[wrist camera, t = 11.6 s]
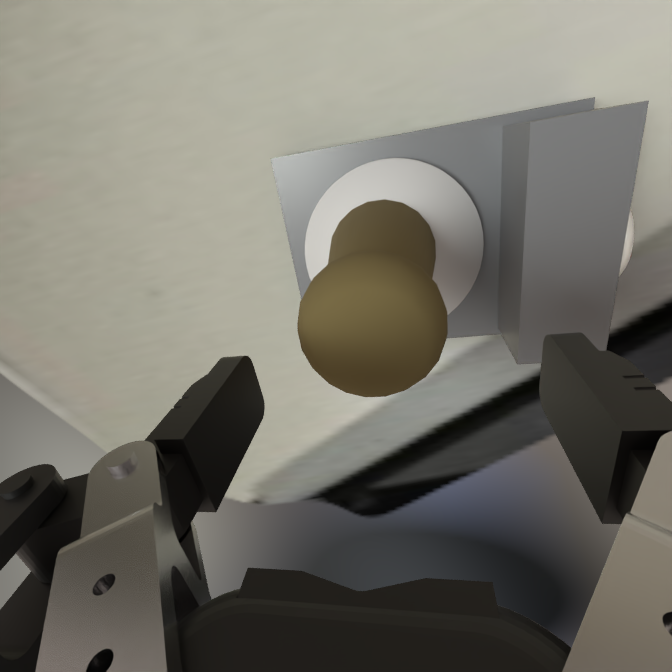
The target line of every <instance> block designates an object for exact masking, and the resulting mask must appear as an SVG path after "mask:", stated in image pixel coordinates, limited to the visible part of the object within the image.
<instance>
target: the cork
mask: <svg viewBox="0 0 672 672" xmlns="http://www.w3.org/2000/svg"><path fill="white" fill-rule="evenodd" d="M435 260H436V246H435V239H434V236H433V233H432V231H431V228H430V226H429V224H428V223H427V222H426V220H425V219H424V218H423V217H422V216H421V215H420V213H419V212H418V211H416V210H414V209H413V208H411V207H409V206H408V205H406V204H404V203H402V202H397V201H392V200H386V199H383V200H376V201H369V202H366V203H364V204H362V205H360V206H358V207H356V208H354V209H352V210H351V211H350V212H349V213H348V214H347V215H346V216H345V217H344V218H343V219H342V220H341V221H340V222H339V224H338V226H337V228H336V230H335V232H334V234H333V235H332V239H331V246H330V252H329V259H328V265H327V266H326V267H325V268H324V269H322V270H321V271H320V272H319V273H318V274H317V275H316V276H315V277H314V278H313V280H312V281H311V283H310V284H309V286H308V288H307V290H306V292H305V294H304V296H303V298H302V300H301V302H300V308H299V316H298V334H299V339H300V343H301V348H302V351H303V353H304V354H305V356H306V358H307V359H308V361H309V363H310V365H311V366H312V368H313V369H314V370H315V371H316V372H317V373H318V374H319V375H321V376H322V377H323V378H324V379H325V380H326V381H327V382H328V383H329V384H331V385H333V386H335V387H337V388H338V389H340V390H342V391H344V392H346V393H350V394H355V395H359V396H363V397H381V396H388V395H391V394H395V393H398V392H401V391H404V390H406V389H408V388H410V387H411V386H413V385H414V384H416V383H417V382H419V381H420V380H422V379H423V378H425V377H426V376H427V375H428V373H429V372H430V371H431V370H432V368H433V367H434V366H435V365H436V363H437V362H438V361H439V358H440V355H441V353H442V350H443V347H444V344H445V341H446V338H447V335H448V321H447V309H446V306H445V303H444V301H443V298H442V296H441V293H440V291H439V288H438V286H437V284H436V283H435V282H434V280H433V279H432V278H433V272H434V266H435Z"/></svg>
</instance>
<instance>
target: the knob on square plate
mask: <svg viewBox="0 0 672 672" xmlns="http://www.w3.org/2000/svg"><path fill="white" fill-rule="evenodd" d="M648 102H649V101H644V102H637V103H631V104H625V105H619V106H613V107H607V108H601V109H595V110H594V103H595V97H594V98H589V99H583V100H578V101H573V102H567V103H562V104H557V105H552V106H546V107H541V108H536V109H530V110H525V111H520V112H514V113H509V114H504V115H499V116H493V117H488V118H483V119H477V120H472V121H467V122H462V123H456V124H451V125H446V126H440V127H435V128H430V129H425V130H419V131H414V132H409V133H403V134H398V135H393V136H388V137H382V138H377V139H372V140H366V141H361V142H356V143H350V144H345V145H340V146H335V147H329V148H324V149H319V150H313V151H308V152H303V153H298V154H292V155H287V156H282V157H276V158H271V163H272V167H273V172H274V176H275V181H276V186H277V190H278V195H279V199H280V204H281V208H282V213H283V217H284V222H285V227H286V231H287V236H288V240H289V245H290V249H291V254H292V258H293V263H294V268H295V272H296V277H297V281H298V286H299V290H300V295H301V299H302V298H303V296H304V294H305V292H306V290H307V288H308V286H309V284H310V283H311V281H312V280H313V278H314V277H315V276H316V275H317V274H318V273H319V272H320V271H321V270H322V269H324V268H325V267H326V266H327V265H328V259H329V252H330V246H331V239H332V235H333V234H334V232H335V230H336V228H337V226H338V224H339V222H340V221H341V220H342V219H343V218H344V217H345V216H346V215H347V214H348V213H349V212H350V211H351V210H352V209H354V208H356V207H358V206H360V205H362V204H364V203H366V202H369V201H376V200H383V199H386V200H392V201H397V202H402V203H404V204H406V205H408V206H409V207H411V208H413V209H414V210H416V211H418V212H419V213H420V215H421V216H422V217H423V218H424V219H425V220H426V222H427V223H428V224H429V226H430V228H431V231H432V233H433V236H434V239H435V246H436V260H435V266H434V272H433V278H432V279H433V280H434V282H435V283H436V284H437V286H438V288H439V291H440V293H441V296H442V298H443V301H444V303H445V306H446V309H447V321H448V335H447V338H457V337H470V336H483V335H496V334H501V335H502V336H503V338H504V340H505V342H506V344H507V346H508V348H509V350H510V351H511V353H512V355H513V357H514V359H515V361H516V363H517V364H532V363H541V362H542V350H543V341H544V338H545V336H546V335H549V334H563V333H577V332H581V333H583V334H584V335H585V336H586V337H587V338H588V339H589V340H590V341H591V343H592V344H593V345H594V346H595V347H596V348H597V349H598V350H599V351H606V348H607V342H608V336H609V331H610V325H611V319H612V313H613V307H614V301H615V295H616V290H617V284H618V278H619V276H620V275H621V274H622V273H623V271H624V270H625V268H626V266H627V264H628V262H629V259H630V257H631V253H632V248H633V242H634V221H633V215H632V211H631V208H630V207H631V202H632V196H633V190H634V184H635V178H636V172H637V166H638V161H639V155H640V149H641V143H642V137H643V131H644V125H645V120H646V114H647V108H648Z"/></svg>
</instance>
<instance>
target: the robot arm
mask: <svg viewBox="0 0 672 672" xmlns="http://www.w3.org/2000/svg"><path fill="white" fill-rule="evenodd" d="M539 392H540V400H541V404H542V408H543V410H544V412H545V414H546V416H547V418H548V420H549V422H550V424H551V426H552V428H553V430H554V432H555V434H556V436H557V437H558V439H559V441H560V443H561V445H562V447H563V449H564V451H565V453H566V455H567V457H568V458H569V461H570V463H571V464H572V466H573V468H574V470H575V472H576V474H577V476H578V478H579V480H580V482H581V483H582V486H583V488H584V490H585V491H586V493H587V495H588V497H589V499H590V501H591V503H592V505H593V507H594V509H595V510H596V513H597V515H598V516H599V519H600V521H601V522H602V524H603V523H604V524H621V527H620V529H619V532H618V534H617V537H616V539H615V542H614V544H613V547H612V549H611V552H610V554H609V557H608V559H607V562H606V564H605V566H604V569H603V571H602V574H601V577H600V579H599V582H598V584H597V586H596V589H595V592H594V594H593V596H592V599H591V601H590V604H589V606H588V609H587V611H586V614H585V616H584V619H583V622H582V624H581V626H580V629H579V631H578V634H577V636H576V639H575V641H574V644H573V646H572V648H571V647H570V646H568V645H567V644H566V643H565V642H564V641H562V640H561V639H559V638H558V637H557V636H555V635H554V634H553V633H551V632H550V631H549V630H547V629H546V628H544V627H542V626H541V625H539V624H537V623H536V622H534V621H532V620H531V619H529V618H527V617H525V616H523V615H521V614H518V613H516V612H514V611H512V610H510V609H507V608H504V607H501V606H498V605H497V603H496V597H495V593H494V588H493V583H492V582H481V581H464V580H446V579H445V580H444V579H429V578H425V579H420V580H415V581H410V582H406V583H401V584H397V585H392V586H387V587H383V588H378V589H373V590H368V591H356V590H352V589H350V588H347V587H344V586H341V585H339V584H336V583H333V582H331V581H328V580H325V579H322V578H320V577H317V576H314V575H311V574H309V573H306V572H303V571H294V570H277V569H260V568H248V569H247V572H246V575H245V577H244V580H243V583H242V586H241V588H240V589H237V590H234V591H231V592H228V593H225V594H223V595H221V596H218V597H216V598H214V599H211V596H210V592H209V588H208V583H207V579H206V574H205V569H204V564H203V560H202V555H201V550H200V545H199V541H198V536H197V531H196V528H195V525H194V524H193V521H192V520H193V518H194V516H195V514H196V513H197V512H216V511H217V509H218V507H219V505H220V503H221V501H222V499H223V497H224V495H225V493H226V491H227V489H228V487H229V485H230V483H231V481H232V479H233V477H234V475H235V473H236V471H237V469H238V467H239V465H240V463H241V461H242V459H243V457H244V455H245V453H246V451H247V449H248V447H249V445H250V443H251V441H252V439H253V437H254V435H255V433H256V431H257V429H258V427H259V425H260V423H261V421H262V419H263V416H264V399H263V395H262V392H261V389H260V386H259V382H258V379H257V376H256V373H255V369H254V366H253V363H252V361H251V359H250V358H249V357H248V356H235V357H223V358H221V359H220V360H219V361H218V362H217V364H216V365H215V366H214V367H213V368H212V370H211V371H210V372H209V373H208V375H205V376H204V377H203V378H201V379H200V380H198V381H197V382H195V383H194V384H193V385H191V387H190V388H189V389H188V390H187V391H186V392H185V394H184V395H183V396H182V399H180V400H179V401H178V402H177V403H176V404H175V405H174V409H171V410H170V411H169V412H168V414H167V415H166V416H165V417H164V418H163V419H162V421H161V422H160V423H159V424H158V425H157V427H156V428H155V429H154V430H153V431H152V432H151V434H150V435H149V436H148V437H147V438H146V439H145V441H135V442H131V443H128V444H125V445H122V446H120V447H118V448H116V449H114V450H112V451H111V452H109V453H108V454H106V455H105V456H104V457H102V458H101V459H100V460H99V461H98V462H97V463H96V464H95V465H94V467H93V468H92V469H91V471H90V473H88V474H85V475H81V476H77V477H73V478H69V479H65V480H63V479H62V478H61V476H60V475H59V473H58V472H57V470H56V469H55V467H54V466H52V465H49V464H42V465H37V466H33V467H30V468H27V469H25V470H23V471H20V472H18V473H16V474H14V475H13V476H11V477H9V478H7V479H6V480H4V481H3V482H1V483H0V570H1V569H2V568H3V567H4V566H5V565H6V564H7V562H8V561H9V560H10V559H11V558H12V557H13V556H14V554H15V553H16V554H17V555H18V556H19V558H20V559H21V560H22V561H23V562H24V563H25V565H26V566H27V567H28V568H29V569H30V570H31V572H30V574H29V575H28V576H27V577H26V579H25V580H24V581H23V582H22V584H21V585H20V586H19V587H18V589H17V590H16V591H15V592H14V594H13V595H12V596H11V597H10V598H9V600H8V601H7V602H6V603H5V605H4V606H3V607H2V608H1V610H0V672H672V402H671V401H670V400H669V399H668V398H667V397H666V396H665V395H664V394H663V393H662V392H661V391H660V390H656V386H655V385H654V384H653V383H652V382H651V381H650V380H649V379H647V378H644V375H643V374H642V373H641V372H640V371H639V370H638V369H637V368H636V367H635V366H634V365H633V364H632V363H631V362H630V361H628V360H626V359H624V358H622V357H620V356H618V355H616V354H614V353H612V352H610V351H599V350H598V349H597V348H596V347H595V346H594V345H593V344H592V343H591V341H590V340H589V339H588V338H587V337H586V336H585V335H584V334H583V333H581V332H577V333H563V334H549V335H546V336H545V338H544V341H543V350H542V362H541V374H540V385H539Z"/></svg>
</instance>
